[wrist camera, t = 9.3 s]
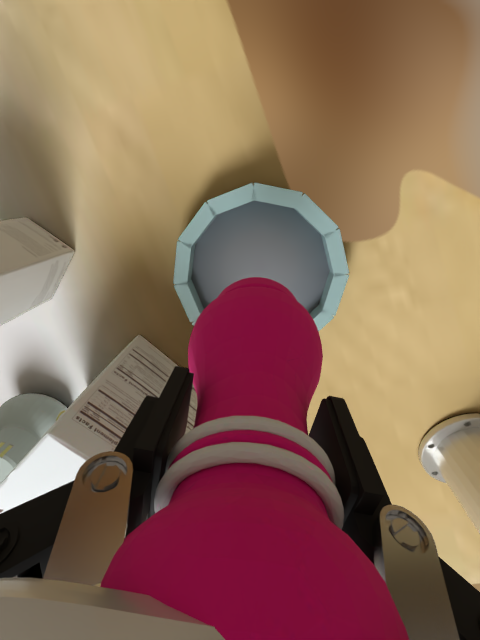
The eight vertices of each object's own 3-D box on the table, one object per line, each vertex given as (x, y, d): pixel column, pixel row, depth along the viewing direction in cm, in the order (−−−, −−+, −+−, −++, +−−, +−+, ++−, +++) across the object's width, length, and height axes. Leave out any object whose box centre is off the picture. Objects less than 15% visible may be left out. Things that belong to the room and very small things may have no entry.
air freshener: (81, 442, 46) (36, 503, 37) (31, 436, 46) (-26, 495, 37) (71, 387, 42) (17, 440, 33) (16, 380, 42) (-52, 431, 33)
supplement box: (156, 439, 45) (97, 575, 29) (86, 388, 42) (-25, 507, 26) (212, 392, 40) (180, 520, 24) (138, 331, 37) (45, 431, 21)
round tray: (361, 205, 30) (372, 206, 27) (313, 353, 37) (317, 366, 34) (191, 171, 29) (183, 168, 27) (175, 326, 37) (168, 337, 34)
